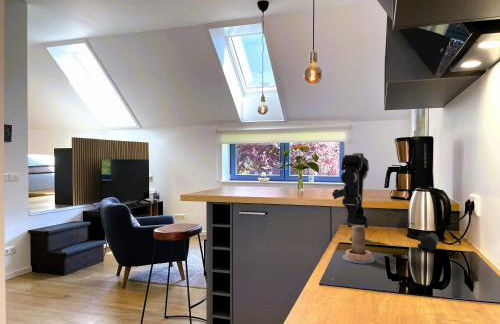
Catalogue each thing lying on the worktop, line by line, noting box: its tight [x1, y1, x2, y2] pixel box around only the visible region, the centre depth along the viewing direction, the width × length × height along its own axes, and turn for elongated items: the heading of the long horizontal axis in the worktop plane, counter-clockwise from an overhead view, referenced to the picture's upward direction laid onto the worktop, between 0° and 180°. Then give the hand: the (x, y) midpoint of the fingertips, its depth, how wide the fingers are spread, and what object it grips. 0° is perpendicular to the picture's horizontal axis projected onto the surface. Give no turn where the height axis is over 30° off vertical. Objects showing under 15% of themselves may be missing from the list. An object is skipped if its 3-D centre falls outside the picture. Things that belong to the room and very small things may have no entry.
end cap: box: [417, 232, 440, 253], centre depth 151 cm, size 10×7×7 cm
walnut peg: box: [351, 225, 366, 255], centre depth 137 cm, size 5×5×12 cm
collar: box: [342, 248, 375, 265], centre depth 137 cm, size 12×12×3 cm
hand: (351, 218), depth 155 cm, fingers open, 9 cm apart
